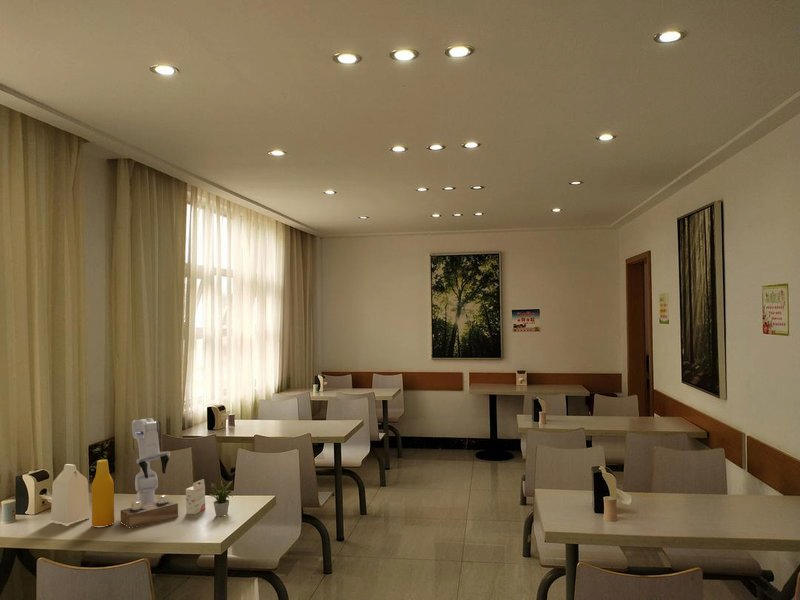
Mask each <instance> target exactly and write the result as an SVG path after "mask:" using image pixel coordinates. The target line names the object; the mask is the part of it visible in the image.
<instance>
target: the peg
mask: <svg viewBox="0 0 800 600" xmlns="http://www.w3.org/2000/svg"><path fill="white" fill-rule="evenodd" d="M167 499H168V495H167V494H162V495H158V496H157V502H158V505H159V506H161V505H165V504H167Z"/></svg>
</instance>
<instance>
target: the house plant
mask: <svg viewBox="0 0 800 600" xmlns="http://www.w3.org/2000/svg"><path fill="white" fill-rule="evenodd" d="M232 482H233V480H232V481H229V482H228V484H227V485H226V486H225V484H223V479H222V480H221V482H220V487H219V489H220V490H219V489H218V486H217V484H216V483H215V482H213V483H211V486H210V485H208V484H207V486H209V487H210V488H212V489H210V490H211V491H212V492H213V493H214V494H212V493H211V494H209V495H208V497H210V498H215V500H214V501H213V506H214V512H215V516H216V517H217V516H222V517H225V516H224V515H226V516H228V514H229V505H230V500H229V499H230V496H231V497H232V498H233V494H232V492H233V490H228V489H229V488H230V486H231V484H232ZM224 486H225V487H224ZM227 498H228V499H227Z"/></svg>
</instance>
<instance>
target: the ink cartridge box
mask: <svg viewBox="0 0 800 600" xmlns="http://www.w3.org/2000/svg"><path fill="white" fill-rule="evenodd" d="M185 505H186V506H185V507H186V511H185V513H186V515H187V514H188V515H196V514H198V513H200V512H203V511H204V510H206V484H205V479H204V478H202V479H200V480H197V481H195V482H193V483H192V486H190V487H187V488H185Z"/></svg>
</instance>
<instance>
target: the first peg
mask: <svg viewBox="0 0 800 600" xmlns="http://www.w3.org/2000/svg"><path fill="white" fill-rule="evenodd" d="M131 508H132V512H136V511H140V510H141V501H136V500H135V501H132V502H131Z"/></svg>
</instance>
